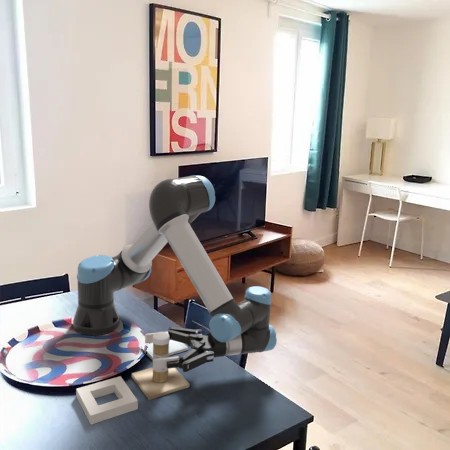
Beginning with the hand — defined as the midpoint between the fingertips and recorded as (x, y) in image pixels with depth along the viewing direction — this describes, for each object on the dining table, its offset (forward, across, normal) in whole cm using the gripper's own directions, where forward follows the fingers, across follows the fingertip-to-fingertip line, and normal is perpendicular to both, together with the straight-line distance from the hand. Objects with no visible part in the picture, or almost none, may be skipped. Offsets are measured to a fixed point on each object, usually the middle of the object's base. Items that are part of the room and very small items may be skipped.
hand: (149, 351), depth 125 cm
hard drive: (-8, +17, -11) cm, 21 cm away
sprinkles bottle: (-3, 0, -9) cm, 10 cm away
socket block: (+12, -6, -10) cm, 17 cm away
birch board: (-3, 0, -10) cm, 10 cm away
